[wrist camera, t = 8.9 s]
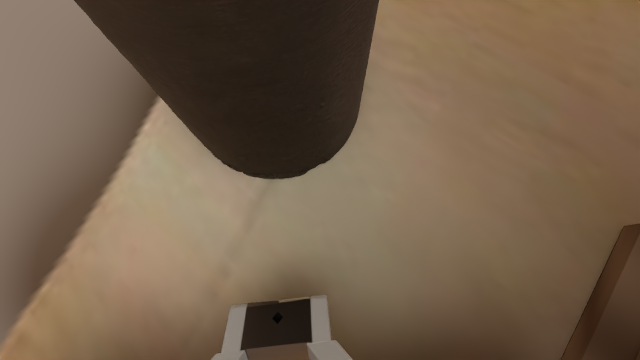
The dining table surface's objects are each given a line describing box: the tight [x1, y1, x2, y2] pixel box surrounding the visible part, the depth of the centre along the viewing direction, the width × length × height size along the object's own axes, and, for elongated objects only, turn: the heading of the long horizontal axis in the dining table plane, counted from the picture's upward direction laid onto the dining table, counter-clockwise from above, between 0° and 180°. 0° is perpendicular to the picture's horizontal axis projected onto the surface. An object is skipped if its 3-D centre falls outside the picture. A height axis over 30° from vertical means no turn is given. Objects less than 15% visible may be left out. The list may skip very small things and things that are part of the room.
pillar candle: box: [74, 0, 379, 179], centre depth 13 cm, size 10×10×15 cm
